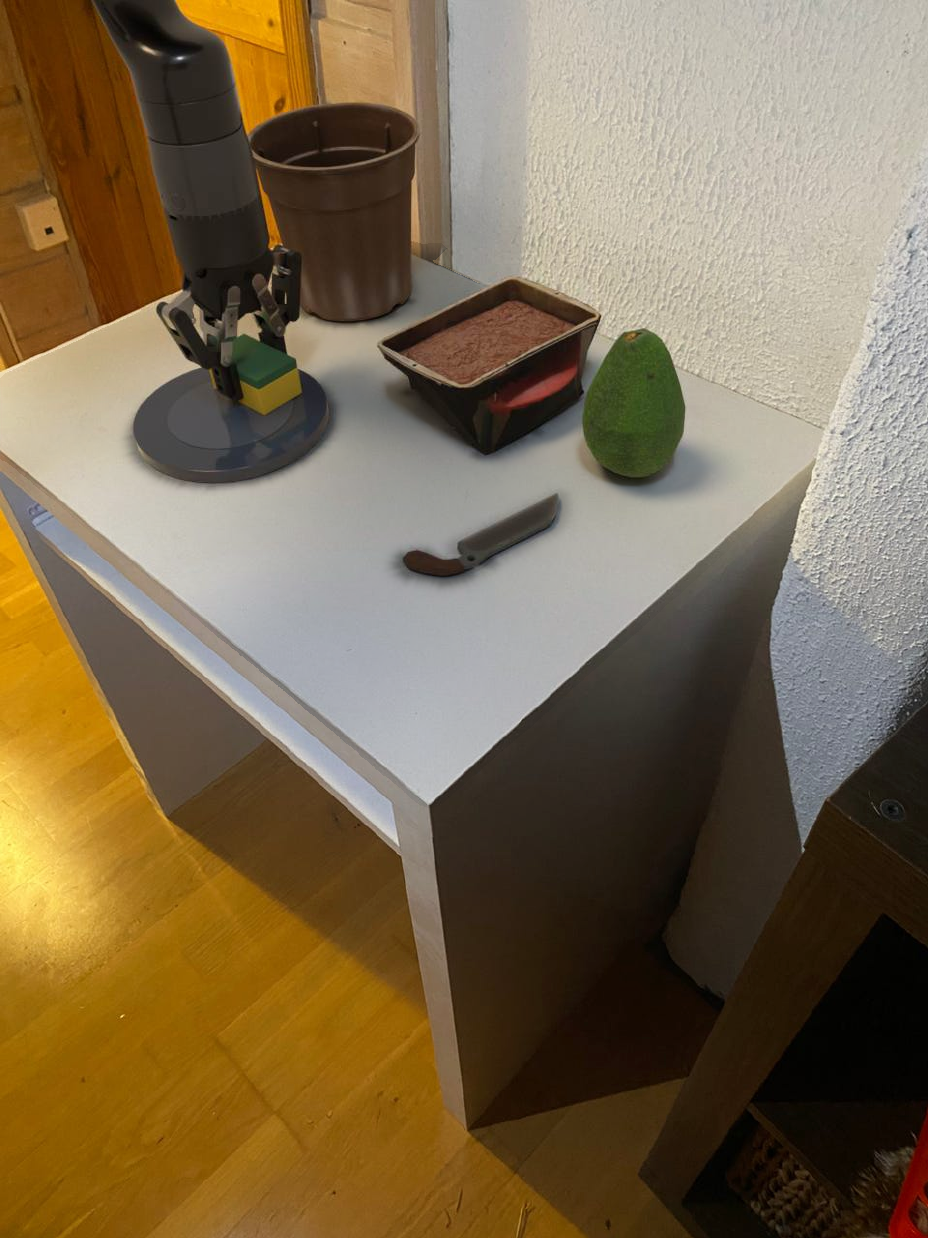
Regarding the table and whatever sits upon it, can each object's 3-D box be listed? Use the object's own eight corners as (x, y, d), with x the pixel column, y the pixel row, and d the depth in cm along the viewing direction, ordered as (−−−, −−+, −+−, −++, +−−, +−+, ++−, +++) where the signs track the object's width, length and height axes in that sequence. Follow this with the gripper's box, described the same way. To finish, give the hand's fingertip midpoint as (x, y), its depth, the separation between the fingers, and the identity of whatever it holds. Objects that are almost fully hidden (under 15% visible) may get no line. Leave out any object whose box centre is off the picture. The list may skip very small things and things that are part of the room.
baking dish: (378, 411, 86) (356, 324, 78) (525, 322, 91) (519, 230, 83) (473, 497, 79) (460, 410, 71) (627, 395, 84) (631, 302, 76)
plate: (220, 510, 74) (216, 497, 73) (97, 432, 82) (93, 420, 81) (368, 412, 83) (366, 400, 82) (244, 351, 90) (241, 339, 90)
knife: (429, 591, 67) (429, 584, 66) (400, 560, 69) (399, 554, 69) (578, 514, 72) (579, 508, 72) (547, 489, 74) (547, 482, 74)
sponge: (264, 415, 81) (256, 380, 78) (213, 388, 84) (204, 354, 81) (302, 392, 83) (295, 358, 80) (251, 367, 86) (243, 332, 84)
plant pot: (288, 346, 91) (256, 177, 79) (265, 272, 102) (234, 114, 90) (447, 318, 94) (439, 151, 82) (409, 249, 104) (397, 92, 92)
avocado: (635, 428, 80) (652, 298, 71) (695, 476, 75) (720, 343, 66) (559, 459, 77) (566, 328, 68) (616, 510, 72) (631, 377, 64)
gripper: (249, 150, 76) (287, 338, 88) (102, 210, 69) (165, 406, 81) (312, 171, 72) (341, 363, 85) (163, 237, 65) (219, 437, 78)
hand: (255, 383), depth 83 cm, fingers closed on sponge, 4 cm apart
